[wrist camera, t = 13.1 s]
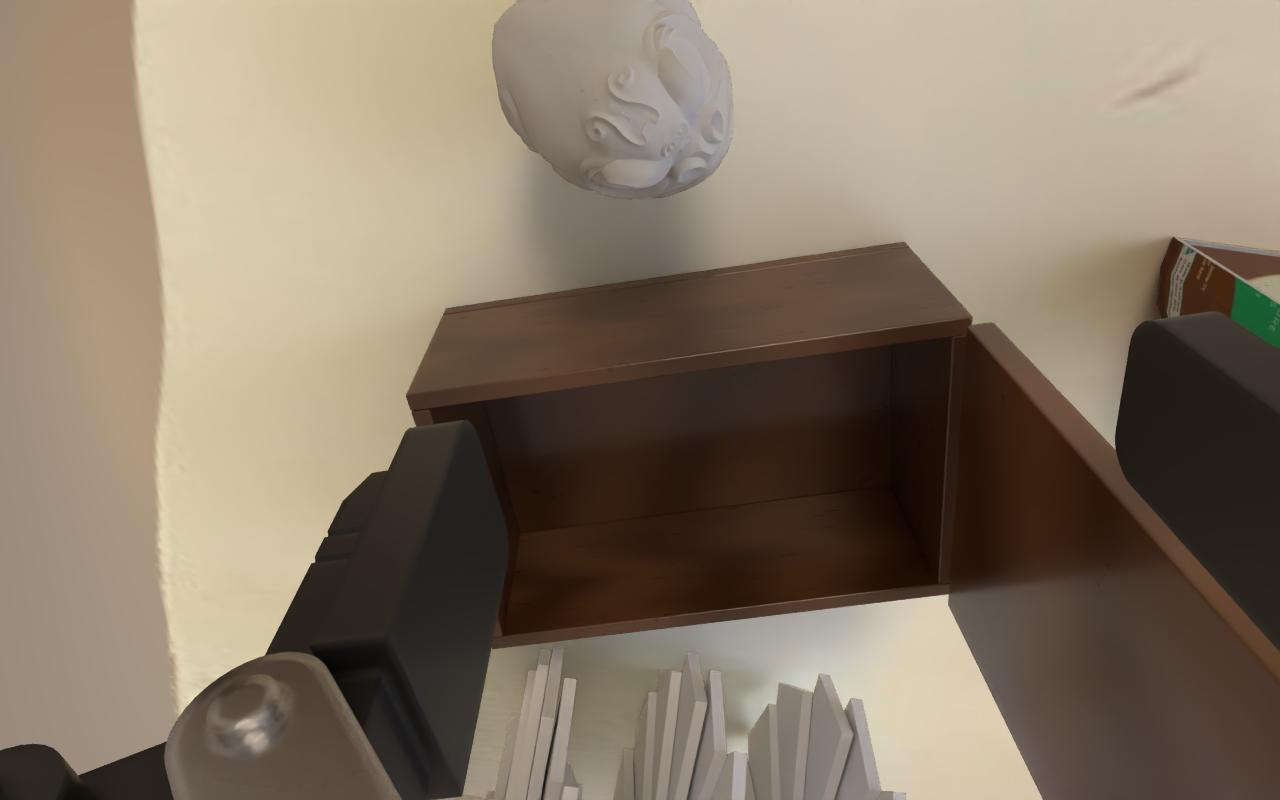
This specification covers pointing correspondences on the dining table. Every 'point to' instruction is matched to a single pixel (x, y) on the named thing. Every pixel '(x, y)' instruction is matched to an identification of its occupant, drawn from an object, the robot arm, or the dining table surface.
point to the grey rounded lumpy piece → (615, 92)
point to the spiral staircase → (696, 744)
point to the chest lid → (1097, 609)
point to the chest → (712, 440)
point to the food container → (1222, 284)
